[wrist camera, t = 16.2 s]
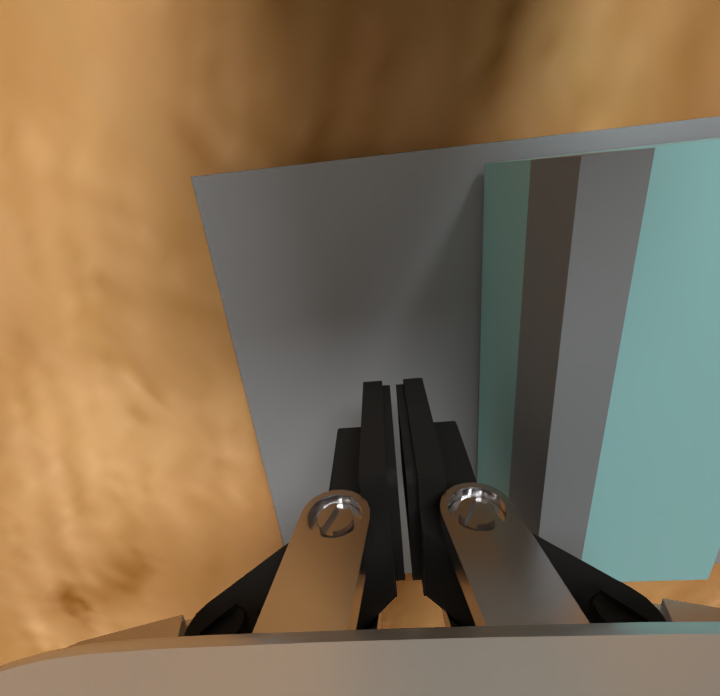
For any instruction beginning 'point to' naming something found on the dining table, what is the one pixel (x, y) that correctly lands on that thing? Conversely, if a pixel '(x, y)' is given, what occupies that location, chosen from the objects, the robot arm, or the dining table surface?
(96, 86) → the dining table surface
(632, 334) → the clamp jaw
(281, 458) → the seat board
